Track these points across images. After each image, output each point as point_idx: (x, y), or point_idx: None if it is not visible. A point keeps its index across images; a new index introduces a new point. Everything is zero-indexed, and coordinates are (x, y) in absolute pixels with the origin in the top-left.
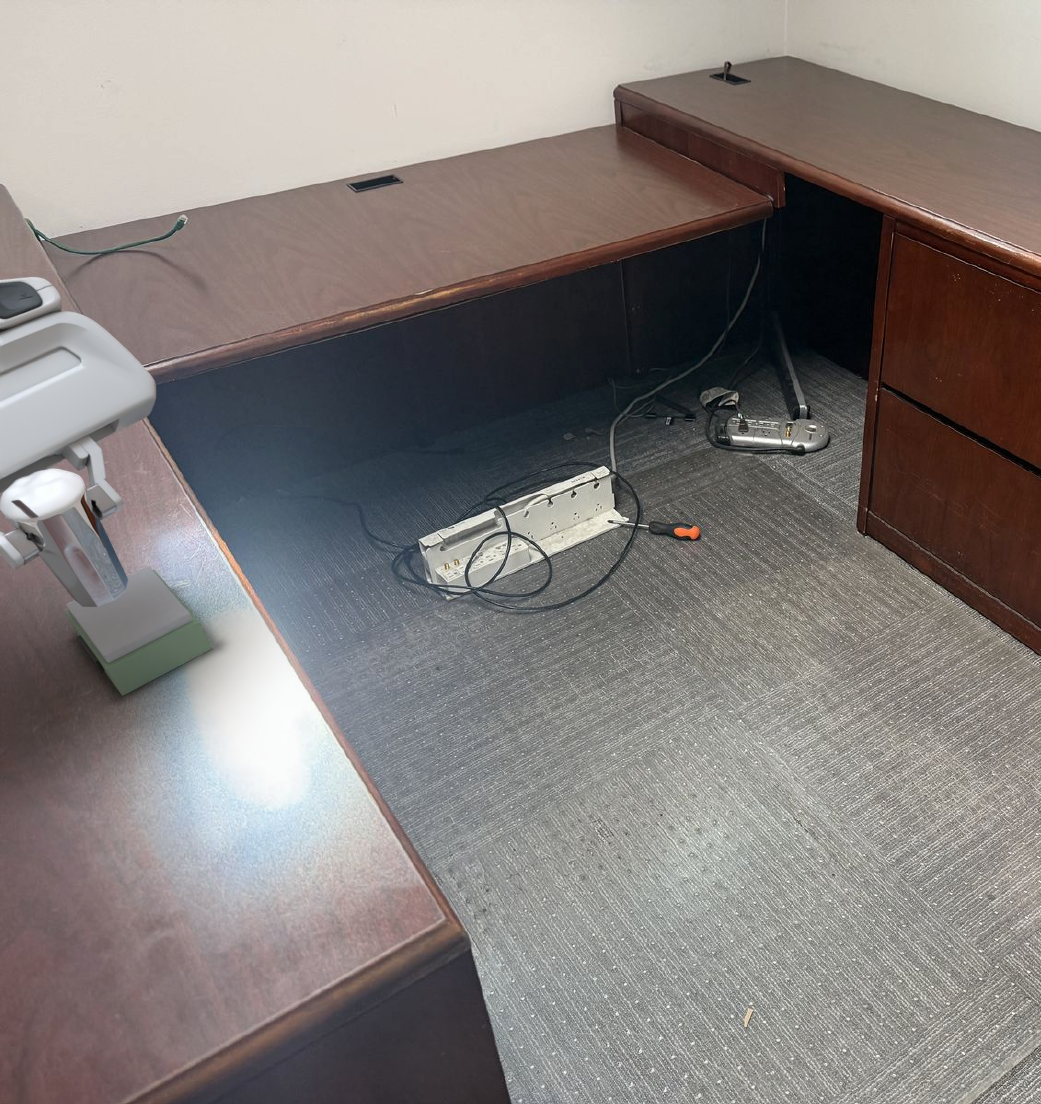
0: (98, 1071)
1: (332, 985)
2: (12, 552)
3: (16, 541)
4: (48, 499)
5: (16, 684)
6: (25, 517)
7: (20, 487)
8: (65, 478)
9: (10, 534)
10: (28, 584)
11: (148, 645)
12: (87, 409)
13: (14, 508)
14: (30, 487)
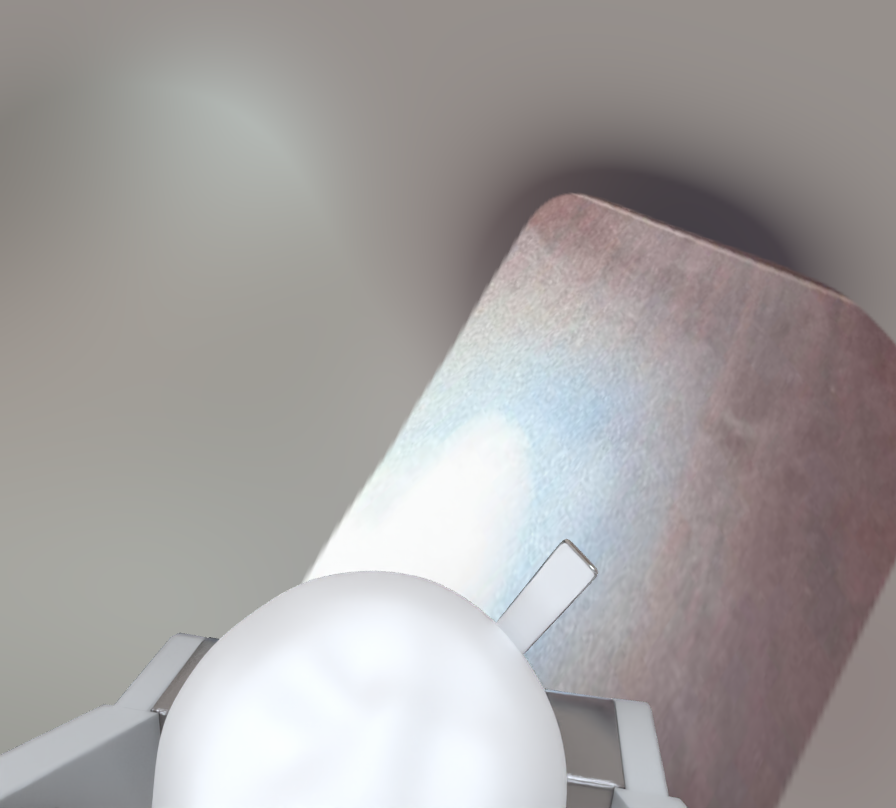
0: (881, 358)
1: (665, 226)
2: (638, 716)
3: (597, 735)
4: (411, 612)
5: None
6: (534, 673)
7: None
8: (244, 669)
9: (596, 775)
10: None
11: None
12: None
13: (534, 745)
14: (386, 770)
